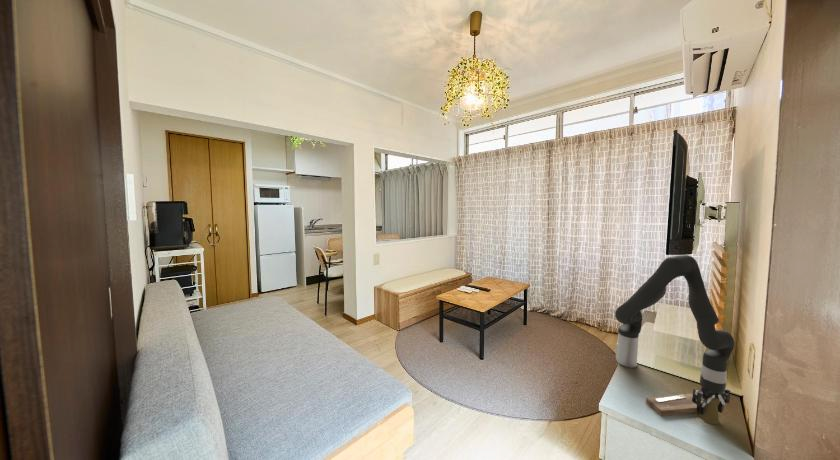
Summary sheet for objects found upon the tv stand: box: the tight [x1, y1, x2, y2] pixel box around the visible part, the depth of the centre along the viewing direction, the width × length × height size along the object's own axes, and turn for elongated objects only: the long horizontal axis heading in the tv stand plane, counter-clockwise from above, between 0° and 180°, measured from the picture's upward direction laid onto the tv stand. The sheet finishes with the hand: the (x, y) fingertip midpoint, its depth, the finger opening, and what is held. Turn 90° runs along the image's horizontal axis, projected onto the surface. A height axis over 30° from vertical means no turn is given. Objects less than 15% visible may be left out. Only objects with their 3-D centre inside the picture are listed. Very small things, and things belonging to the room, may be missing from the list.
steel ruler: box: [655, 394, 686, 402], centre depth 131 cm, size 2×14×1 cm, turn 97°
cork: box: [698, 396, 720, 425], centre depth 121 cm, size 6×6×11 cm
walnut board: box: [645, 393, 703, 417], centre depth 129 cm, size 8×22×3 cm, turn 93°
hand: (709, 412), depth 122 cm, fingers open, 8 cm apart
